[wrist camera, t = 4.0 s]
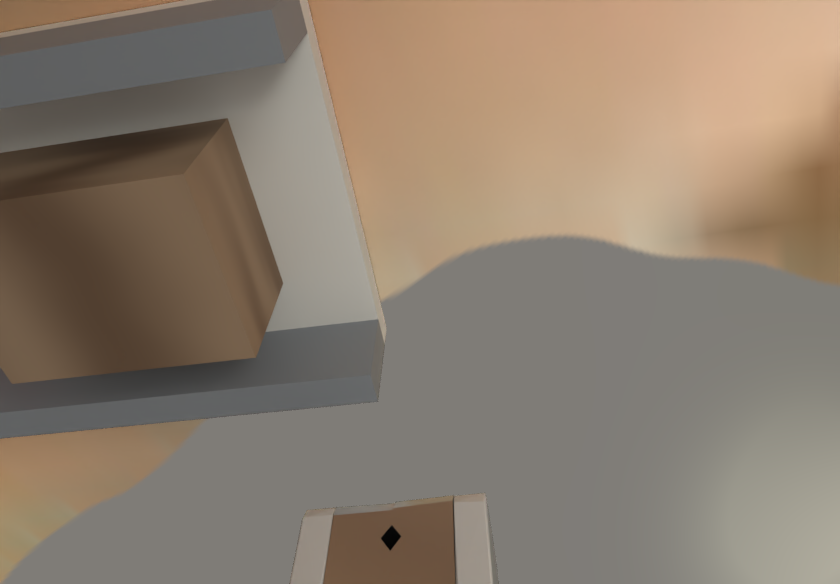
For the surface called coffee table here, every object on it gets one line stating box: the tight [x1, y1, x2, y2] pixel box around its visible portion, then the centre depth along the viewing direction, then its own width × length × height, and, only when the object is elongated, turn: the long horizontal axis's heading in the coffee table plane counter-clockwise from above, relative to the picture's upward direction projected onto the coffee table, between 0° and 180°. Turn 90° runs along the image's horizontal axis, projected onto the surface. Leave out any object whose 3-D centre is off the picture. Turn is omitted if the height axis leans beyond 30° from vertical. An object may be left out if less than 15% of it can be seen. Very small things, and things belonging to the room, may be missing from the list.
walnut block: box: [0, 118, 283, 384], centre depth 20 cm, size 8×6×4 cm
